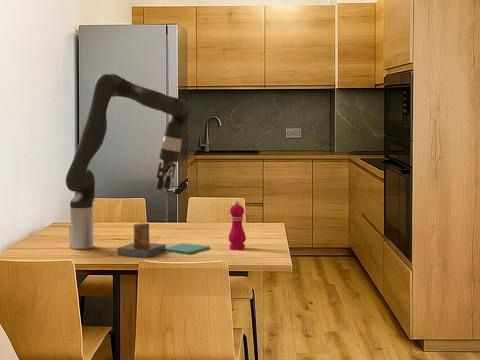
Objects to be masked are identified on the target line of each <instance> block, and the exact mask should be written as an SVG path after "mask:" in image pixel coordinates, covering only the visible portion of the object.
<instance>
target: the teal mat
mask: <svg viewBox="0 0 480 360" xmlns="http://www.w3.org/2000/svg"><path fill="white" fill-rule="evenodd" d="M210 249H211V247H210V246H208V245H201V244H200V245H199V244H192V243H191V244H190V243H184V242H183V243H178V244H174V245H171V246H166V252H169V253H176V254H184V255H192V254H195V253H199V252H204V251H207V250H210Z"/></svg>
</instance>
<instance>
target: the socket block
mask: <svg viewBox="0 0 480 360" xmlns="http://www.w3.org/2000/svg"><path fill="white" fill-rule="evenodd" d="M166 245H167V244H162V243H152V242H151V243H150V242H149V246H148V247H145V248H140V247H134V242H133V243H129V244H125V245H123V246H120V247H117V256H120V255H121V257H123V256H124V257H131V256H132V258H133V257H134V258H144V259H149V258H152V257H155V256H157V255H160V254H164V253H166V252H167V251H166V247H167V246H166Z"/></svg>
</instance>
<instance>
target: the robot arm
mask: <svg viewBox="0 0 480 360" xmlns="http://www.w3.org/2000/svg"><path fill="white" fill-rule="evenodd" d="M113 97H114V98H115V97H120V98H121V97H122V98H127V99H130V100H132V101H134V102H136V103H138V104H140V105H141V106H144V107H147V108H150V109H152V110H154V111H155V110H156V111H161V112H162V113H165V114H167V115H170V116H171V118H170V121H169V122H167V124H166V125H165V131H164V136H163V139H162V142H161V147H160V153H159V157H158V158H159V160H161V161H162V162H159V164H158V168H157V174H156V178H157V180H158V181H157V185H156V189H157V190H161V191H163V190H169V189H170V187H171V183H172V180H173V179H174V178H175V173H176V172H175V171H176V166H177V164H176V163H178V162H179V158H180V153H181V149H182V140H183V134H184V129H185V126H186V124H187V122H188V118H189V117H190V110H191V109H190V104H189V102H188V101H186V100H185V99H182V98H181V99H180V98H179V97H178V98H177V97H174V96H171V95H167V94H164V93H163V92H159V91H156V90H153V89H150V88H147V87H144V86H141V85H137V84H134V83H133V82H131V81H129V80H127V79H125V78H123V77H121V76H119V75H117V74H114V73H103V74H101V75H99V76H98V77H97V79H95V83H94V88H93V93H92V98H91V102H90V106H89V109H88V113H87V116H86V119H85V122H84V125H83V129H82V131H81V135H80V139H79V142H78V145H77V148H76V151H75V154H74V156H73V157H74V158H73V160H72V161H71V165H70V166H69V169H68V170H67V174H66V177H65V184H66V188H67V189H68V190H69V191H71V192H75V195H74V197H73V198H72V199H71V200H70V202H69V203H70V205H69V207H70V209H69V210H70V211H69V212H70V224H69V226H68V228H69V229H68V232H69V233H68V234H69V237H68V238H69V248H71V249H74V250H84V249H85V250H86V249H87V250H88V249H92V248H94V246H95V245H94V214H93V213H94V210H93V207H94V203H93V202H94V200H95V195H96V194H95V193H96V192H95V187H96V184H95V183H96V182H95V175H94V173H93V172H92V171H91V169H89V168H88V167H89V164H90V162H91V160H92V159H94V156H96V154H97V153H98V152H99V151H100V149H101V147H102V145H103V143H104V140H105V136H106V134H107V130H108V121H107V109H108V107H109V105H110V104H109V103H110V101H111V99H112V98H113Z"/></svg>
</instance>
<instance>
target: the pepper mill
mask: <svg viewBox="0 0 480 360" xmlns="http://www.w3.org/2000/svg"><path fill="white" fill-rule="evenodd" d="M229 214H230V215H231V216H230V220H231V222H232V223H231V229H230V232H229V234H228V241H229V249H230V250H231V251H232V250H234V251H242V250H244V249H246V248H245V241H246V240H247V237H246V233H245V230H244V228H243V220H244V214H245V208H244V206H243V205H240V201H239V200H236V201H235V202H234V205H232V206H231V207H230V208H229Z"/></svg>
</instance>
